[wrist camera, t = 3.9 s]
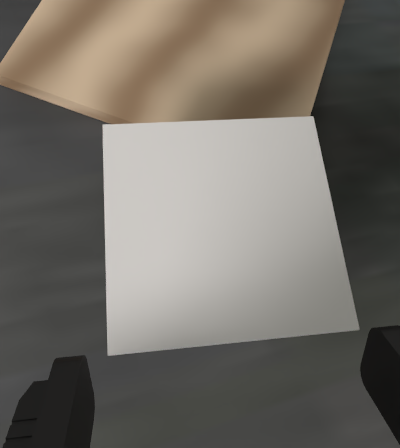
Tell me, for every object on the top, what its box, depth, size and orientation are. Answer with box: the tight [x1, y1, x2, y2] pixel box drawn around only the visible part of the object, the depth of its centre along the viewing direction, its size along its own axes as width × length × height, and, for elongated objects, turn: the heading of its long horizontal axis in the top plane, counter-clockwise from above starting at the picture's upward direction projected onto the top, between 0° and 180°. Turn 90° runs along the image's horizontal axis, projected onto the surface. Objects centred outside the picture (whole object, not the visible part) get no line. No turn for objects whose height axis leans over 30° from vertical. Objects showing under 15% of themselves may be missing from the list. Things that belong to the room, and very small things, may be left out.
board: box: [0, 0, 345, 124], centre depth 25 cm, size 18×18×1 cm
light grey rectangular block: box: [103, 116, 360, 356], centre depth 15 cm, size 6×6×10 cm
